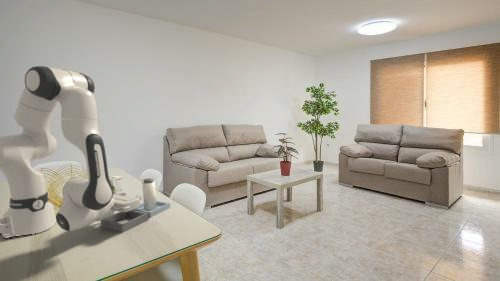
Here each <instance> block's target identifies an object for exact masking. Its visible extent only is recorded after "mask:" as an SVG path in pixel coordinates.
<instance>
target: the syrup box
mask: <svg viewBox="0 0 500 281" xmlns="http://www.w3.org/2000/svg"><path fill="white" fill-rule="evenodd" d="M109 180H110V182H111V184H112V187H113V194H121V193H124V189H123V177H122V176H117V175H112V176H109Z"/></svg>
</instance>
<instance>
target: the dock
mask: <svg viewBox="0 0 500 281" xmlns="http://www.w3.org/2000/svg"><path fill="white" fill-rule="evenodd" d="M127 217H129V218H131V219H130V220H129V221H127V222H124V223H120V222H118V221H120V220H123V219H124V218H127ZM132 218H133V219H132ZM149 219H150V217H148V213H145V212H140V211H135V210H131V211H127V212H120V211H117V212H116V213H114V214H113V215H112V216H110V217H107V218H105V219H103V220H100V227H101V228H104V229H108V230H113V231H116V232H118V233H119V232H120V233H122V234H123V233H125V232H127V231H129V230H131V229H133V228H135V227H137V226H139V225H141V224H144V223H145V222H147V221H149Z"/></svg>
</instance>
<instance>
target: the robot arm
mask: <svg viewBox="0 0 500 281" xmlns="http://www.w3.org/2000/svg"><path fill="white" fill-rule="evenodd" d="M24 84H25V87H23V90H22V92H21V95H20V98H19V101H18V104H17V107H16V109H15V113H14V115H13V116H14V117H13V118H14V121H15V123H16V124H17V125H18V126H19V127H21V128H22V132H21V133H20V134H13V135H4V136H0V171H1V172H2V173H3V174H4V176H5V178H6V180H7V184H8V188H9V193H10V197H9V203H8V204H9V208H8V209H7V210H6V211H5V212H4V213H3V215H2V218H0V232H1V233H2V234H3V235H4V236H5V237H7V236H16V235H28V234H32V235H36V234H40V233H42V232H45V231H47V230H49V229H51V228H53V227H54V226H55V224H56V223H57V225H58V226H59V228H61V229H62V230H63V231H67V232H73V231H77V230H80V229H83V228H85V227H89V226H91V225H92V224H93V223H95V222H101V220H103V219H105V218H107V217H110V216H112V215H113V214H115V212H127V211H131V210H133V209H136V208H138V207H139V206H140V204H141V203H140V201H142V199H143V198H142V197H143V195H136V196H135V197H134V196H133V197H132V196H127V193H125V192H123V193H121V194H113V187H112V184H111V182H110V180H109V177H110V176H109V170H108V162H107V156H106V155H107V154H106V149H105V144H104V141H103V138H102V136H101V134H100V131H99V130H100V128H99V121H98V120H99V119H98V109H97V108H98V107H97V101H96V98H95V95H94V93H95V88H96V87H95V83H94V80H93V78H92V77H90V76H88V75H86V74H84V73H81V72H76V71H72V70H69V69H64V68H62V69H61V68H55V67H48V66H45V65H44V66H43V65H38V66H32V67H30V68H29V69H28V70H27V72H26V73H25V75H24ZM58 103H59V105H60V108H61V109H60V111H61V112H60V113H61V114H60V117H61V119H60V121H61V123H60V124H61V132H62V135H63V137H64V138H65V140H66V141H67V142H69V143H70V144H72V145H73V146H75V147H76V148H78V149H79V150H80V152H82V155H83V156H84V158H85V164H86V172H87V177H79V176H78V177H77V176H75V177H72V178H71V179H69V180H67V182H66V183H65V184H64V186H63V187H62V201H61V205H60V208H59V209H58V211H57V212H56V214H55V210H54V206H53V203H51V202H50V201H49V194H48V192H47V188H46V179H45V174H44V173H42V172H41V171H39V170H36V169H34V168H33V167H32V165H31V161H35V160H42V159H44V158H47V157H49V156H51V155H53V154H54V153H55V152H56V151H57V149H58V142H57V139H56V138H55V137H54V135H52V133H51V123H52V119H53V117H54V115H55V110H56V108H57V104H58ZM2 224H4V225H2ZM9 233H10V234H9ZM35 233H36V234H35ZM5 234H9V235H5ZM28 236H29V235H28Z"/></svg>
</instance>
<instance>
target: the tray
mask: <svg viewBox="0 0 500 281" xmlns="http://www.w3.org/2000/svg"><path fill="white" fill-rule="evenodd" d="M156 204H157V209H155V210H152V211H145V210H144V202H142V203H140V206H139V207H138V208H136V209H133V210H135V211H140V212H145V213H148V218H152V217H155V216H156V215H158V214H160V212H161V213H162V212H165V211H167V210H169V209H170V208H171V203H170V202H166V201H161V200H156Z"/></svg>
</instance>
